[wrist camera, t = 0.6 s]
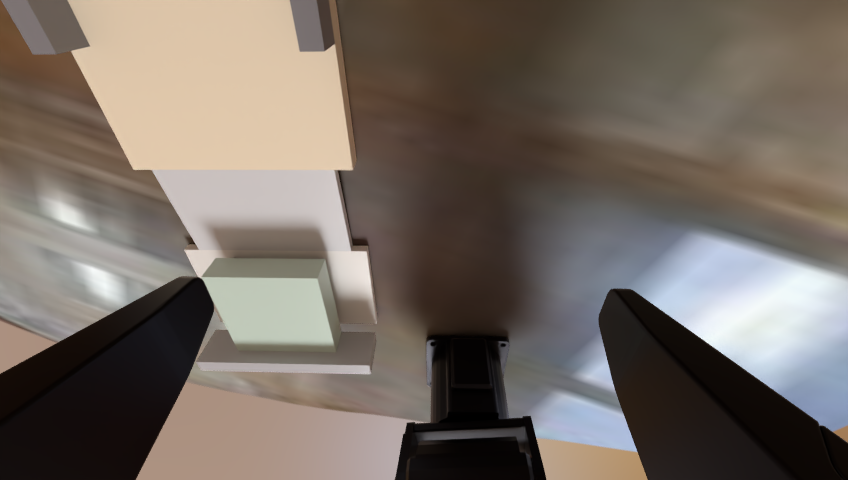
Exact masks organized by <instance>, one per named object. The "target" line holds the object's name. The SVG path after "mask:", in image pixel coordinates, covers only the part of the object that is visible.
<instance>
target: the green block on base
mask: <svg viewBox="0 0 848 480" xmlns="http://www.w3.org/2000/svg"><path fill="white" fill-rule="evenodd" d="M201 278H202V280H203V281H204V282H205V285H206V287H207V289H208V291H209V294H210V296H211V298H212V300H213V302H214V304H215V306H216V308H217V310H218V312H219V314H220V316H221V318H222V320H223V322H224V324H225V326H226V328H227V330H215V332H214V334H213V335H212V337H211V339H210V340H209V342H208V343H207V345H206V347H205V348H204V350H203V352H202V353H201V355H200V356H199V358H198V360H197V361H196V363H197V364H198V366H199V367H200V369H201V371H243V372H290V373H338V374H371V370H372V364H373V358H374V352H375V346H376V335H375V333H372V332H341V327H340V323H339V319H338V314H337V310H336V305H335V301H334V296H333V292H332V288H331V283H330V279H329V274H328V270H327V265H326V261H325V259H315V258H313V259H273V258H215V260H214V261H213V262H212V263H211V265H210V266H209V267H208V269H207V270H206V271H205V273H204V274H203V275H202V277H201Z"/></svg>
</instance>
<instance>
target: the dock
mask: <svg viewBox="0 0 848 480" xmlns="http://www.w3.org/2000/svg"><path fill="white" fill-rule="evenodd" d="M1 1H2V2H3V4H4V6H5V7H6V9H7V11H8V13H9V14H10V16H11V18H12V19H13V21H14V23H15V24H16V26H17V28H18V30H19V31H20V33H21V35H22V36H23V38H24V40H25V42H26V43H27V45H28V47H29V48H30V50H31V52H32V53H33V54H59V53H64V52H68V51H71V52H72V54H73V56H74V58H75V60H76V61H77V63H78V65H79V67H80V69H81V71H82V73H83V75H84V77H85V78H86V80H87V82H88V84H89V86H90V88H91V90H92V92H93V94H94V96H95V97H96V99H97V101H98V103H99V105H100V107H101V109H102V111H103V113H104V114H105V116H106V118H107V120H108V122H109V124H110V126H111V128H112V130H113V132H114V133H115V135H116V137H117V139H118V141H119V143H120V145H121V147H122V149H123V150H124V152H125V154H126V156H127V158H128V160H129V162H130V164H131V166H132V167H133V169H134V170H152V171H153V173H154V175H155V176H156V178H157V180H158V181H159V183H160V185H161V186H162V188H163V190H164V192H165V193H166V195H167V197H168V198H169V200H170V202H171V203H172V205H173V207H174V208H175V210H176V212H177V213H178V215H179V217H180V218H181V220H182V222H183V224H184V225H185V227H186V229H187V230H188V232H189V234H190V235H191V237H192V239H193V240H194V242H195V244H189V245H188V246H187V247H186V248H185V249H184V250H185V252H186V254H187V256H188V258H189V260H190V262H191V264H192V266H193V268H194V270H195V272H196V274H197V276H198V277H200V278H201V277H202V275H203V274H204V273H205V271H206V270H207V269H208V267H209V266H210V265H211V263H212V262H213V261H214V260H215V258H273V259H313V258H315V259H325V261H326V265H327V270H328V274H329V279H330V283H331V288H332V292H333V296H334V301H335V305H336V310H337V314H338V319H339V323H340V324H377V319H378V317H377V309H376V302H375V294H374V287H373V279H372V272H371V264H370V256H369V249H368V246H353V243H352V238H351V233H350V228H349V224H348V219H347V214H346V209H345V204H344V199H343V194H342V189H341V184H340V179H339V174H338V170H353V168H354V166H355V164H356V161H357V158H356V150H355V143H354V135H353V128H352V120H351V112H350V105H349V97H348V90H347V82H346V74H345V67H344V59H343V52H342V44H341V37H340V29H339V21H338V14H337V6H336V0H1ZM201 279H202V278H201ZM213 303H214V302H213ZM214 309H215V311H216V313H217V315H218V317H219V319H220V321H221V322H223V320H222V318H221V316H220V314H219V312H218V310H217V308H216V306H215V304H214Z"/></svg>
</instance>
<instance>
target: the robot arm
mask: <svg viewBox="0 0 848 480" xmlns="http://www.w3.org/2000/svg"><path fill="white" fill-rule="evenodd" d="M213 312H214V303H213V300H212V298H211V296H210V294H209V291H208V289H207V287H206V285H205V282H204V281H203V280H202V279H201V278H200V277H192V276H182V277H178V278H176V279H175V280H173V281H171V282H169V283H167V284H165V285H163V286H162V287H160V288H158V289H156V290H154V291H152V292H151V293H149V294H147V295H145V296H143V297H141V298H139V299H138V300H136V301H134V302H132V303H130V304H128V305H126V306H125V307H123V308H121V309H119V310H117V311H115V312H114V313H112V314H110V315H108V316H106V317H104V318H102V319H101V320H99V321H97V322H95V323H93V324H91V325H90V326H88V327H86V328H84V329H82V330H80V331H78V332H77V333H75V334H73V335H71V336H69V337H67V338H66V339H64V340H62V341H60V342H58V343H56V344H54V345H53V346H51V347H49V348H47V349H45V350H44V351H42V352H40V353H38V354H36V355H34V356H32V357H30V358H29V359H27V360H25V361H23V362H21V363H19V364H18V365H16V366H14V367H12V368H10V369H8V370H6V371H5V372H3V373H1V374H0V480H136V478H137V476H138V474H139V472H140V470H141V468H142V466H143V464H144V462H145V460H146V458H147V456H148V455H149V453H150V451H151V449H152V447H153V445H154V443H155V441H156V439H157V437H158V435H159V433H160V431H161V429H162V427H163V425H164V423H165V421H166V419H167V418H168V416H169V414H170V411H171V410H172V408H173V406H174V404H175V402H176V400H177V398H178V396H179V394H180V392H181V390H182V388H183V386H184V384H185V382H186V380H187V378H188V376H189V374H190V371H191V369H192V367H193V364H194V362H195V359H196V357H197V354H198V352H199V349H200V346H201V344H202V341H203V339H204V336H205V333H206V331H207V328H208V326H209V323H210V321H211V318H212V315H213ZM599 327H600V331H601V336H602V340H603V344H604V348H605V352H606V356H607V360H608V364H609V368H610V372H611V376H612V380H613V384H614V387H615V391H616V394H617V397H618V400H619V403H620V405H621V408H622V411H623V413H624V416H625V419H626V422H627V424H628V427H629V430H630V432H631V435H632V438H633V441H634V443H635V446H636V449H637V451H638V454H639V457H640V460H641V462H642V465H643V468H644V470H645V473H646V476H647V479H648V480H848V443H847V442H846V441H844V440H843V439H842V438H840V437H839V436H837V435H836V434H835V433H833V432H832V431H831V430H829V429H828V428H826V427H825V426H822V425H820V426H819V423H818V422H817V421H816V420H815V419H813V418H812V417H811V416H809V415H808V414H806V413H805V412H804V411H802V410H801V409H799V408H798V407H797V406H795V405H794V404H792V403H791V402H789V401H788V400H787V399H785V398H784V397H782V396H781V395H780V394H778V393H777V392H775V391H774V390H773V389H771V388H770V387H768V386H767V385H766V384H764V383H763V382H761V381H760V380H759V379H757V378H756V377H754V376H753V375H751V374H750V373H749V372H747V371H746V370H744V369H743V368H742V367H740V366H739V365H737V364H736V363H735V362H733V361H732V360H730V359H729V358H728V357H726V356H725V355H723V354H722V353H721V352H719V351H718V350H716V349H715V348H713V347H712V346H711V345H709V344H708V343H706V342H705V341H704V340H702V339H701V338H699V337H698V336H697V335H695V334H694V333H692V332H691V331H690V330H688V329H687V328H685V327H684V326H683V325H681V324H680V323H678V322H677V321H675V320H674V319H673V318H671V317H670V316H668V315H667V314H666V313H664V312H663V311H661V310H660V309H659V308H657V307H656V306H654V305H653V304H652V303H650V302H649V301H647V300H646V299H645V298H643V297H642V296H640V295H639V294H637V293H636V292H635V291H633V290H631V289H611V290H610V291H609V292H608V294H607V296H606V299H605V301H604V304H603V306H602V309H601V312H600V314H599ZM426 345H427V385H428V386H430V387H431V423H419V424H418V423H417V424H415V422H411V423H407V426H406V431H405V434H403V439H402V445H401V450H400V456H399V462H398V468H397V473H396V477H395V480H546V476H545V472H544V468H543V463H542V460H541V456H540V452H539V448H538V444H537V440H536V436H535V432H534V428H533V424H532V420H531V416H523V418H509V413H508V407H507V400H506V394H505V387H504V381H503V376H504V371H505V366H506V361H507V356H508V351H509V346H510V345H509V340H508V338H506V337H472V336H429V337H428V338H427V343H426Z"/></svg>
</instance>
